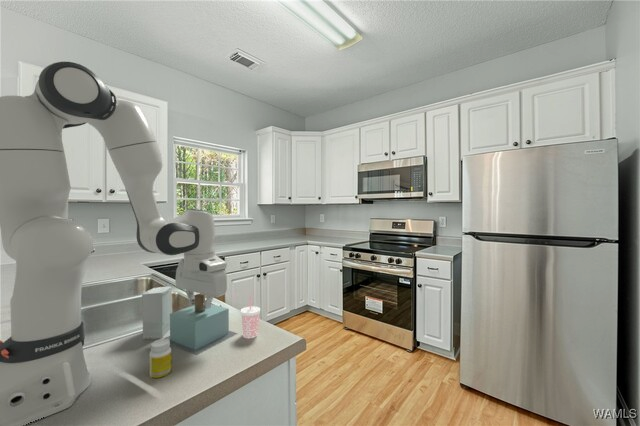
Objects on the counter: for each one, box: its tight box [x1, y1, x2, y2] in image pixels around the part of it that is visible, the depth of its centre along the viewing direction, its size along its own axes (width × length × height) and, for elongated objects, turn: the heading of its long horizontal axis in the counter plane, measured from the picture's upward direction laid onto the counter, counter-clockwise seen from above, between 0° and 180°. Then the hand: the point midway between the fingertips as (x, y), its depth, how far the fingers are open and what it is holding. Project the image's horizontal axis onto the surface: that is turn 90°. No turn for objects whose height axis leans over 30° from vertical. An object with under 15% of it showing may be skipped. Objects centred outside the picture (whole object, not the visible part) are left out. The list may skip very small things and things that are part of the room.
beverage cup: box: [240, 293, 261, 339], centre depth 88 cm, size 6×6×14 cm
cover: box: [169, 293, 230, 350], centre depth 87 cm, size 12×12×13 cm
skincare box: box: [141, 286, 173, 340], centre depth 89 cm, size 8×6×15 cm
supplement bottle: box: [148, 338, 173, 379], centre depth 68 cm, size 5×5×8 cm
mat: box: [162, 330, 239, 356], centre depth 87 cm, size 15×17×5 cm
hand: (199, 306), depth 86 cm, fingers open, 5 cm apart
